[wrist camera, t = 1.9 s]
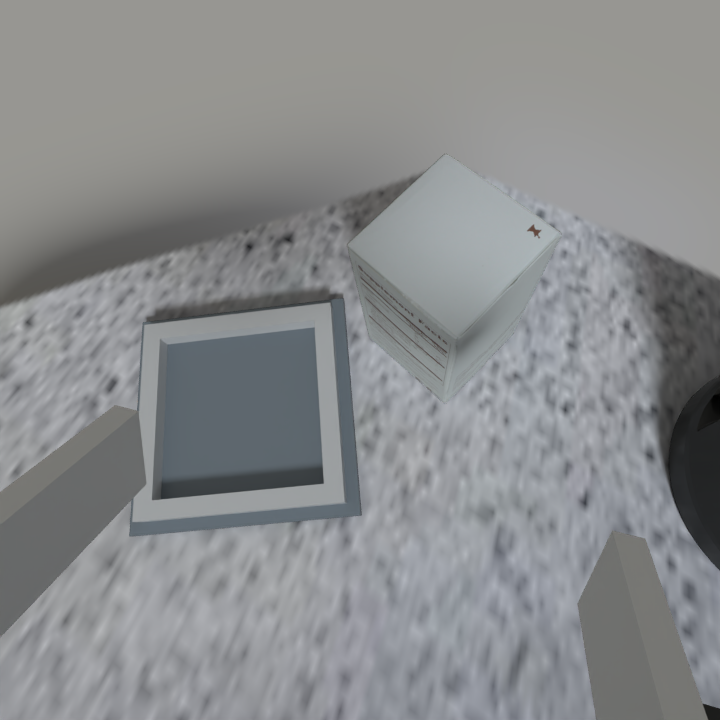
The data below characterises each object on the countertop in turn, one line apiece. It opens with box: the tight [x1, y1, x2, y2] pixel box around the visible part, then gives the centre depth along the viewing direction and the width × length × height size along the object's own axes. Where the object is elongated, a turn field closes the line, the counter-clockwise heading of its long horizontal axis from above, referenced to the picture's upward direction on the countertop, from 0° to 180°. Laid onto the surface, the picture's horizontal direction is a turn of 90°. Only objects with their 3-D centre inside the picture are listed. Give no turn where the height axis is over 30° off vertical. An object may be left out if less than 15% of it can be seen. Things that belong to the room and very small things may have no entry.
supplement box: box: [347, 154, 562, 404], centre depth 29 cm, size 7×7×13 cm
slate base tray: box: [129, 298, 362, 536], centre depth 34 cm, size 15×15×2 cm
